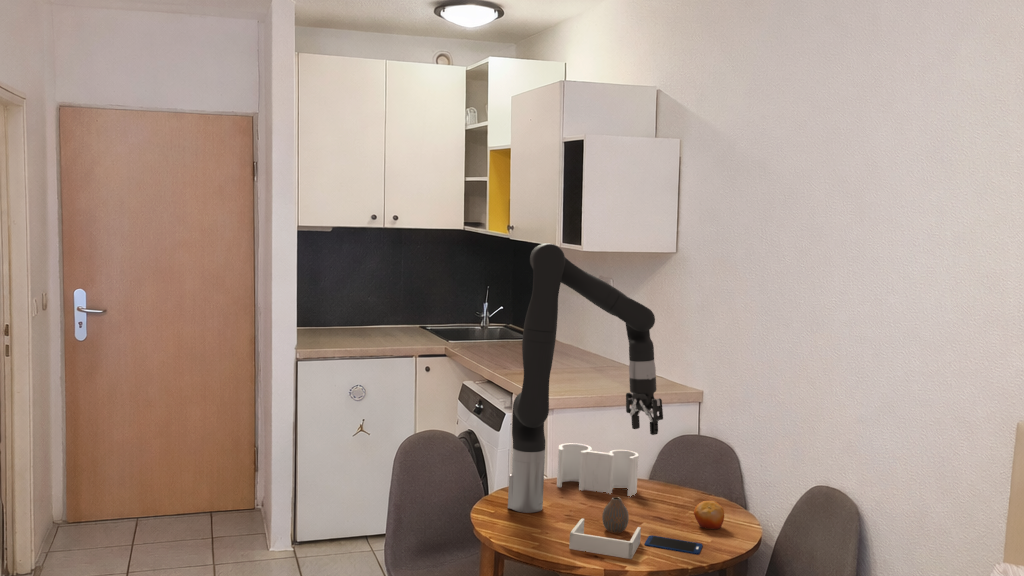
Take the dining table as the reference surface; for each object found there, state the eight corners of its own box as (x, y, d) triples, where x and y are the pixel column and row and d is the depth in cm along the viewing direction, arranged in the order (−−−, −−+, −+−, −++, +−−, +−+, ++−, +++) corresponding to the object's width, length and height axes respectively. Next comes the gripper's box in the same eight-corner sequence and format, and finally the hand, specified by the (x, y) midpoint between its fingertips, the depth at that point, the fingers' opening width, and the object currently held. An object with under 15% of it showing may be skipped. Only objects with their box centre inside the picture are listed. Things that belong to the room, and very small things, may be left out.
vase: (598, 532, 217) (600, 499, 216) (605, 524, 223) (607, 492, 223) (624, 537, 214) (625, 504, 214) (630, 528, 221) (632, 496, 220)
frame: (569, 548, 204) (569, 532, 204) (580, 533, 216) (581, 518, 215) (631, 559, 199) (632, 542, 199) (640, 542, 210) (640, 527, 210)
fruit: (725, 517, 229) (725, 497, 224) (722, 539, 223) (722, 519, 218) (696, 513, 231) (695, 493, 227) (692, 535, 225) (692, 515, 221)
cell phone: (699, 556, 204) (699, 553, 204) (643, 547, 209) (643, 544, 209) (703, 546, 211) (703, 543, 211) (649, 537, 216) (649, 534, 216)
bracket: (639, 489, 256) (641, 451, 255) (633, 498, 247) (635, 458, 246) (562, 478, 265) (564, 441, 264) (553, 486, 256) (555, 448, 255)
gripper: (617, 374, 239) (619, 429, 241) (647, 380, 227) (649, 438, 228) (638, 370, 243) (640, 425, 244) (668, 377, 230) (671, 434, 231)
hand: (644, 431), depth 236 cm, fingers open, 8 cm apart
